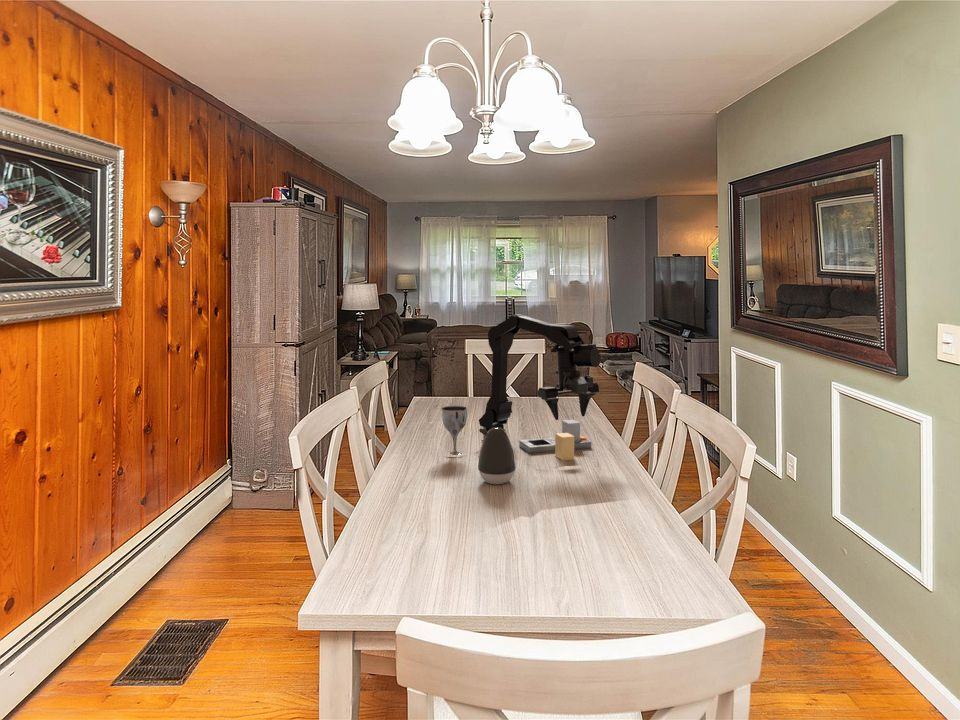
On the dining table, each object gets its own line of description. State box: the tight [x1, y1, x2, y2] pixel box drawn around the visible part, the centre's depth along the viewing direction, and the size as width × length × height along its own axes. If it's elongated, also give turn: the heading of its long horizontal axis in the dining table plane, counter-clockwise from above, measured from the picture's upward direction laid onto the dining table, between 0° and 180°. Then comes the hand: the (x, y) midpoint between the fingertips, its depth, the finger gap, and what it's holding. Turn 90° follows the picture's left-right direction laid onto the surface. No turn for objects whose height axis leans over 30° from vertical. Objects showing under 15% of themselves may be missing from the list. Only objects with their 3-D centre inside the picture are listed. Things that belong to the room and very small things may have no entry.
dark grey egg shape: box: [477, 427, 516, 485], centre depth 182 cm, size 10×10×15 cm
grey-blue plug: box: [561, 419, 581, 442], centre depth 215 cm, size 4×5×8 cm
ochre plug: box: [554, 432, 575, 461], centre depth 202 cm, size 4×5×8 cm
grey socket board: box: [518, 435, 592, 455], centre depth 214 cm, size 21×10×4 cm, turn 106°
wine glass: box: [441, 405, 468, 455], centre depth 209 cm, size 8×8×15 cm
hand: (570, 418), depth 202 cm, fingers open, 9 cm apart
